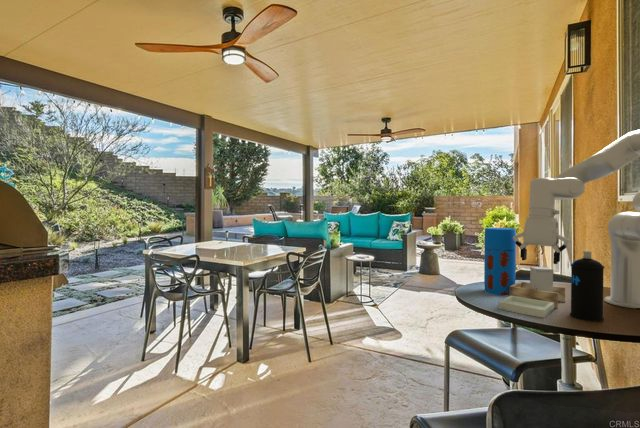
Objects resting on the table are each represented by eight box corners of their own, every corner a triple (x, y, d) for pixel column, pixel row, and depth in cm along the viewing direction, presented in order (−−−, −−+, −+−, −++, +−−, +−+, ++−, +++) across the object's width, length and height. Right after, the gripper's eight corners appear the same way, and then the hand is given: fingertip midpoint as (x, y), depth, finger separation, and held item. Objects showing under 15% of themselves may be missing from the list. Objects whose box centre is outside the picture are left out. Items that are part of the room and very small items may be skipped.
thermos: (519, 296, 129) (520, 229, 129) (488, 295, 131) (489, 229, 131) (509, 289, 140) (510, 227, 139) (481, 288, 142) (481, 227, 141)
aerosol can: (604, 317, 105) (605, 251, 104) (603, 323, 99) (604, 254, 98) (571, 311, 110) (572, 249, 110) (568, 317, 104) (568, 251, 104)
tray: (554, 309, 112) (554, 302, 112) (544, 318, 104) (544, 310, 104) (510, 301, 122) (510, 295, 122) (498, 309, 113) (498, 302, 113)
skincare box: (533, 302, 121) (534, 268, 120) (529, 299, 125) (529, 266, 125) (553, 303, 119) (553, 269, 119) (548, 300, 123) (548, 267, 123)
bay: (565, 301, 122) (565, 287, 122) (557, 308, 114) (557, 293, 113) (519, 294, 132) (519, 281, 132) (509, 300, 124) (509, 286, 124)
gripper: (573, 214, 118) (571, 264, 118) (517, 212, 130) (515, 257, 131) (569, 214, 113) (566, 266, 113) (510, 212, 125) (509, 259, 125)
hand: (539, 261), depth 122 cm, fingers open, 9 cm apart
